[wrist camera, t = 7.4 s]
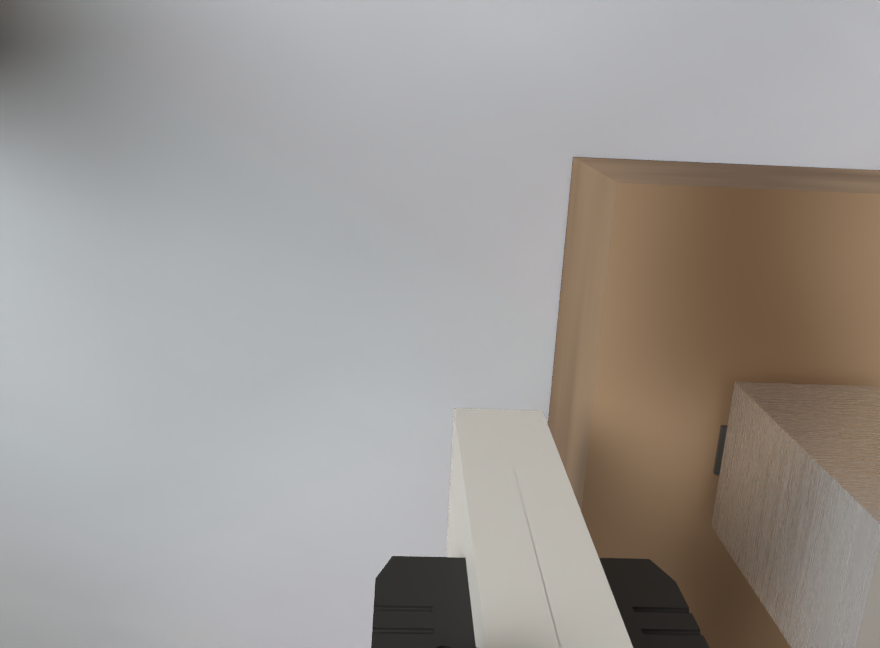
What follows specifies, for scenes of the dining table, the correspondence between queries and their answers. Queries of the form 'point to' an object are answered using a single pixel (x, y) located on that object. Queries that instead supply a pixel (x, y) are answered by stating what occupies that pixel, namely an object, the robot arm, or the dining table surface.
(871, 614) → the slider aluminium
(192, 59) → the dining table surface
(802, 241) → the console
